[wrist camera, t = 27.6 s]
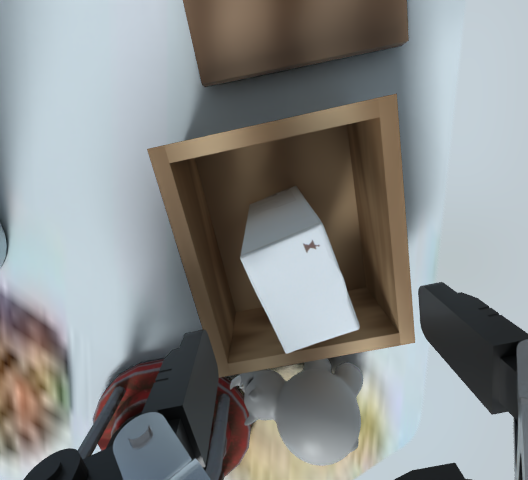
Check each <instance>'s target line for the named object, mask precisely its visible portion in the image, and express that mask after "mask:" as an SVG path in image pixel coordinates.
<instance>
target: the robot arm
mask: <svg viewBox="0 0 528 480" xmlns="http://www.w3.org/2000/svg"><path fill="white" fill-rule="evenodd" d="M6 249H7V244H6V237H5V234H4V231H3V228H2V225H1V223H0V268H1V266H2V265H3V262H4V260H5V257H6ZM418 295H419V309H420V323H421V328H422V331H423V334H424V336H425V337H426V339H427V340H428V342H429V343H430V344H431V345H432V346H433V347H434V348H435V350H436V351H437V352H438V353H439V354H440V355H441V357H442V358H443V359H444V360H445V361H446V362H447V363H448V364H449V366H450V367H451V368H452V369H453V370H454V371H455V373H456V374H457V375H458V376H459V377H460V378H461V380H462V381H463V382H464V383H465V384H466V385H467V386H468V388H469V389H470V390H471V391H472V392H473V393H474V394H475V396H476V397H477V398H478V399H479V400H480V401H481V403H482V404H483V405H484V406H485V407H486V408H487V409H488V410H489V412H490V413H491V414H497V413H502V412H509V413H510V414H511V415H512V416H513V417H514V422H513V431H514V432H513V433H514V471H515V480H528V334H527V333H526V332H525V331H523V330H522V329H520V328H519V327H517V326H516V325H515V324H513V323H512V322H510V321H509V320H508V319H506V318H505V317H503V316H502V315H499V313H498V312H496V311H495V310H493V309H492V308H489V306H488V305H486V304H485V303H483V302H482V301H481V300H479V299H478V298H475V297H473V296H470V295H467V294H464V293H462V292H461V293H457V292H455V291H454V290H453V289H451V288H450V287H449V286H447V285H446V284H444V283H442V282H439V283H434V284H429V285H424V286H420V287H419V291H418ZM218 380H219V373H218V366H217V362H216V358H215V355H214V352H213V349H212V346H211V342H210V339H209V336H208V333H207V331H206V330H200V331H195V332H190V333H186V334H185V335H184V337H183V340H182V343H181V345H180V348H179V349H174V350H172V351H171V352H170V354H169V355H168V356H167V357H166V358H165V359H164V360H163V363H162V365H161V368H160V370H159V373H158V375H157V377H156V380H155V383H154V384H153V387H152V389H151V392H150V394H149V396H148V399H147V401H146V404H145V406H144V408H143V411H142V413H141V415H140V416H138V417H136V418H134V419H133V420H131V421H130V422H129V423H127V424H126V425H125V426H124V427H123V428H122V429H121V431H120V432H119V433H118V435H117V436H116V438H115V440H114V444H113V445H112V446H110V447H108V448H106V449H104V450H102V451H100V452H98V453H96V454H94V455H91V456H89V457H87V458H85V459H82V457H81V455H80V453H79V452H78V451H77V450H76V449H64V450H60V451H58V452H56V453H54V454H52V455H50V456H48V457H47V458H45V459H44V460H42V461H41V462H40V463H39V464H38V465H36V466H35V467H34V468H33V469H32V470H31V471H30V472H29V473H28V475H27V476H26V477H25V479H24V480H211V479H210V478H209V476H208V475H207V473H206V472H205V470H204V469H203V467H206V460H207V454H208V447H209V440H210V434H211V427H212V420H213V414H214V407H215V401H216V394H217V387H218ZM395 480H471V479H465V478H464V477H463V475H462V473H461V472H460V470H459V468H458V467H457V465H456V463H450V464H445V465H439V466H434V467H428V468H423V469H417V470H412V471H410V472H408V473H406V474H404V475H402V476H401V477H398V478H396V479H395Z"/></svg>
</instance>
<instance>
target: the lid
mask: <svg viewBox="0 0 528 480" xmlns="http://www.w3.org/2000/svg"><path fill="white" fill-rule="evenodd" d="M183 3H184V8H185V12H186V16H187V21H188V25H189V30H190V34H191V39H192V43H193V47H194V52H195V56H196V61H197V65H198V69H199V74H200V78H201V83H202V85H203V86H204V87H207V86H212V85H217V84H222V83H226V82H231V81H236V80H241V79H245V78H250V77H255V76H260V75H265V74H269V73H274V72H279V71H284V70H288V69H293V68H298V67H303V66H307V65H312V64H317V63H322V62H327V61H331V60H336V59H341V58H346V57H350V56H355V55H360V54H365V53H369V52H374V51H379V50H384V49H388V48H393V47H398V46H402V45H403V44H404V43H406V42H407V41H409V39H408V17H407V0H183Z"/></svg>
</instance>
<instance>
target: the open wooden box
mask: <svg viewBox="0 0 528 480" xmlns="http://www.w3.org/2000/svg"><path fill="white" fill-rule="evenodd" d="M147 150H148V153H149V157H150V160H151V163H152V166H153V170H154V173H155V176H156V179H157V183H158V186H159V189H160V192H161V196H162V199H163V202H164V205H165V209H166V212H167V215H168V218H169V222H170V225H171V228H172V231H173V234H174V238H175V241H176V244H177V247H178V251H179V254H180V257H181V260H182V264H183V267H184V270H185V273H186V277H187V280H188V283H189V286H190V290H191V293H192V296H193V299H194V302H195V306H196V309H197V312H198V315H199V319H200V322H201V325H202V328H203V330H206V331H207V333H208V336H209V339H210V342H211V346H212V349H213V352H214V355H215V358H216V362H217V366H218V373H219V378H220V377H225V376H231V375H237V374H242V373H248V372H253V371H259V370H265V369H270V368H276V367H281V366H287V365H293V364H298V363H304V362H309V361H315V360H321V359H326V358H332V357H337V356H343V355H349V354H354V353H360V352H365V351H371V350H377V349H382V348H388V347H394V346H399V345H405V344H410V343H415V334H414V320H413V307H412V293H411V280H410V266H409V253H408V239H407V226H406V212H405V199H404V185H403V172H402V158H401V145H400V131H399V118H398V104H397V94H393V95H388V96H384V97H379V98H375V99H370V100H366V101H361V102H357V103H352V104H348V105H343V106H339V107H334V108H330V109H325V110H321V111H316V112H312V113H307V114H303V115H298V116H294V117H289V118H285V119H280V120H276V121H271V122H267V123H262V124H258V125H253V126H249V127H244V128H240V129H235V130H231V131H226V132H222V133H217V134H213V135H208V136H204V137H199V138H195V139H190V140H186V141H181V142H177V143H172V144H168V145H163V146H159V147H154V148H150V149H147ZM293 186H297V188H298V189H299V191H300V192H301V193H302V195H303V196H304V198H305V199H306V201H307V202H308V203H309V205H310V206H311V208H312V209H313V210H314V212H315V213H316V214H317V216H318V217H319V219H320V220H321V222H322V223H323V226H324V228H325V231H326V233H327V236H328V238H329V241H330V244H331V246H332V249H333V252H334V254H335V257H336V260H337V262H338V265H339V268H340V271H341V273H342V275H343V278H344V281H345V284H346V288H347V291H348V294H349V297H350V300H351V303H352V305H353V308H354V311H355V314H356V316H357V319H358V322H359V325H360V328H359V329H358V330H356V331H353V332H349V333H346V334H343V335H340V336H337V337H334V338H331V339H328V340H325V341H322V342H319V343H316V344H313V345H310V346H307V347H305V348H302V349H299V350H296V351H293V352H291V353H288V354H287V353H285V351H284V349H283V347H282V345H281V343H280V341H279V339H278V337H277V334H276V332H275V330H274V328H273V326H272V324H271V322H270V320H269V318H268V316H267V314H266V312H265V310H264V308H263V306H262V304H261V302H260V300H259V298H258V296H257V294H256V292H255V290H254V288H253V286H252V283H251V281H250V279H249V277H248V275H247V272H246V270H245V268H244V266H243V264H242V261H241V259H240V256H241V251H242V245H243V239H244V234H245V228H246V222H247V217H248V211H249V205H250V204H252V203H255V202H257V201H260V200H262V199H264V198H267V197H269V196H271V195H274V194H276V193H279V192H281V191H284V190H286V189H289V188H291V187H293Z"/></svg>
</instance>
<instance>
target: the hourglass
mask: <svg viewBox="0 0 528 480" xmlns="http://www.w3.org/2000/svg"><path fill="white" fill-rule="evenodd" d="M163 360H164V359H159V360H154V361H149V362H144V363H139V364H138V365H136V366H134V367H132V368H130V369H128V370H126V371H124V372H123V373H121V374H119V375H118V377H117V378H116V379H115V380H114V381H113V382H112V383H111V384H110V385H109V387H108V388H107V389H106V390H105V392H104V393H103V395H102V396H101V398H100V400H99V402H98V405H97V408H96V411H95V414H94V417H93V426H92V427H91V429H90V431H89V432H88V434H87V436H86V437H85V439H84V441H83V442H82V444H81V446H80V447H79V449H78V452H79V453H80V455H81V457H82V459H85V458H87V457H89V456H91V455H92V453H93V451H94V450H95V448H96V446H97V444H98V445H99V447H100V449H101V451H102V450H104V449H106V448H108V447H110V446H112V445H113V444H114V440H115V438H116V436H117V435H118V433H119V432H120V431H121V429H122V428H123V427H124V426H125V425H126V424H127V423H129V422H130V421H131V420H133V419H134V418H136V417H138V416H140V415H141V413H142V411H143V408H144V406H145V404H146V401H147V399H148V396H149V394H150V392H151V389H152V387H153V384H154V383H155V380H156V377H157V375H158V373H159V370H160V368H161V365H162V363H163ZM231 382H232V381H230V380H229V379H227V378H226V377H220V378H219V380H218V387H217V394H216V401H215V407H214V414H213V420H212V427H211V434H210V440H209V447H208V454H207V460H206V467H203V469H204V470H205V472H206V473H207V475H208V476H209V478H210V479H211V480H224V477H225V476H226V475H227V474H229V473H230V472H231V471H232V470H233V469H234V468H235V467H237V466H238V465H239V464H240V462H241V461H242V459H243V457H244V455H245V453H246V451H247V450H248V448H249V440H250V430H251V424H250V425H245V424H244V422H245V421H246V419H247V418H248V417H249V412H248V410H247V408H246V405H245V403H244V396H243V395H242V394H241V393H240V391H239V390H238V389H237V387H236V386H234V387H233V388H232V389H231V390H230V384H231Z"/></svg>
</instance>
